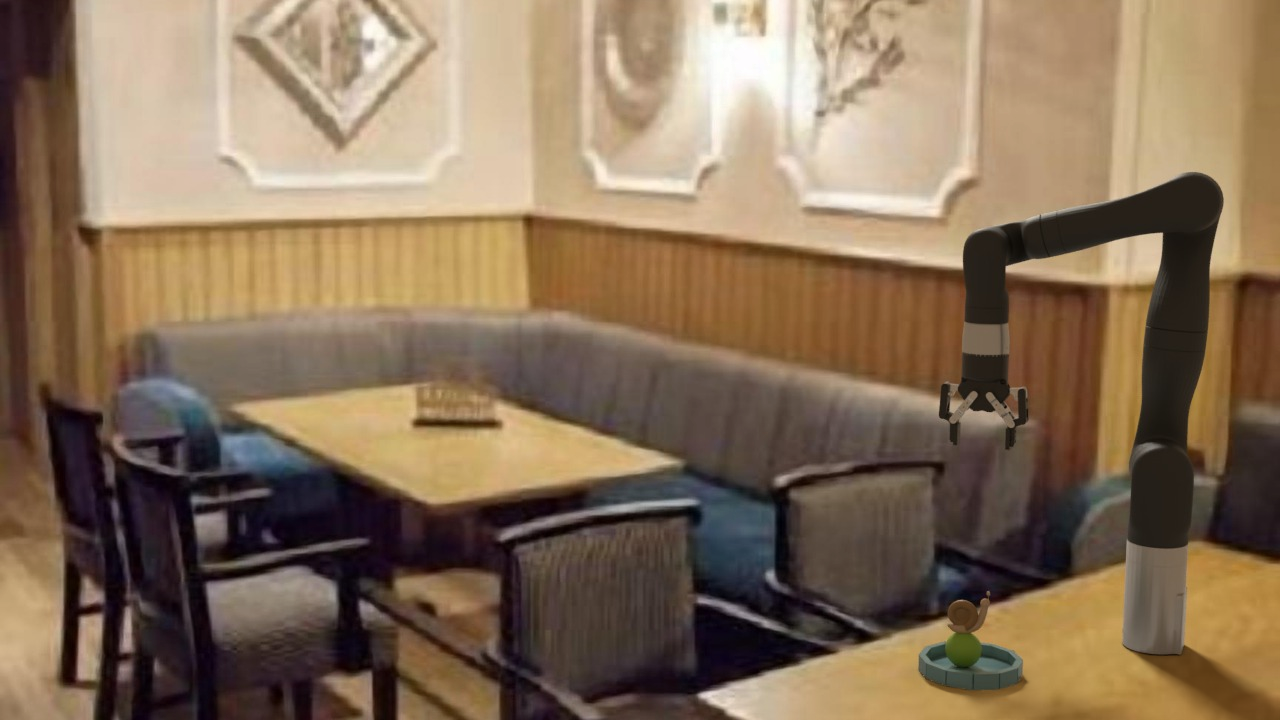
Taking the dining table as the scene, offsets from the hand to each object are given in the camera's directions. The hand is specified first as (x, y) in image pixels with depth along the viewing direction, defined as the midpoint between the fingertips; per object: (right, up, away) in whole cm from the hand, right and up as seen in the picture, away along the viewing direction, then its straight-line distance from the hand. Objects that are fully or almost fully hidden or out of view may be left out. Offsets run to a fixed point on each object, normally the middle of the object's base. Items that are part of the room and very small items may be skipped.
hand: (982, 447), depth 250 cm
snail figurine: (-7, -33, -19) cm, 38 cm away
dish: (-6, -33, -19) cm, 39 cm away
